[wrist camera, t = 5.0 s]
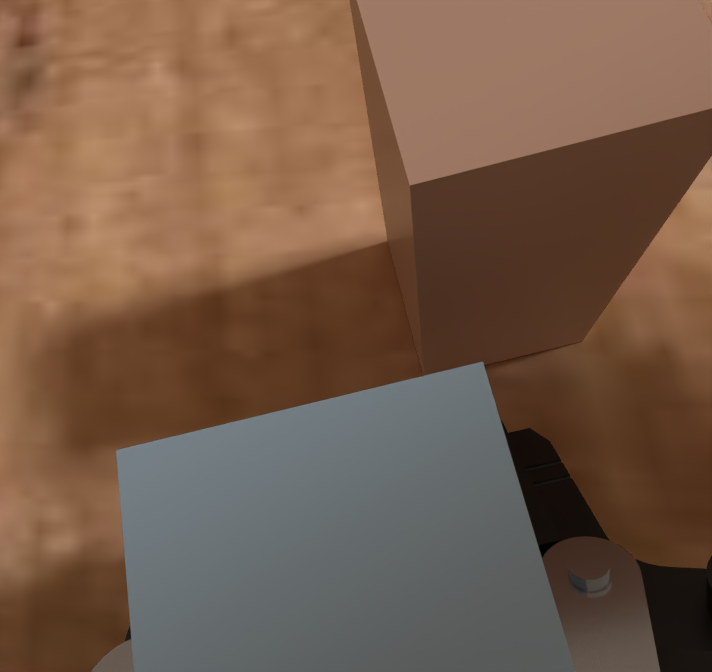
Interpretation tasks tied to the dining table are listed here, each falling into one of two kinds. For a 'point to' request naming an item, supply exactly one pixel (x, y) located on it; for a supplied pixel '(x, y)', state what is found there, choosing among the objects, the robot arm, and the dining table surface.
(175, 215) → the dining table surface
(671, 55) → the terracotta pillar
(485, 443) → the blue pillar
